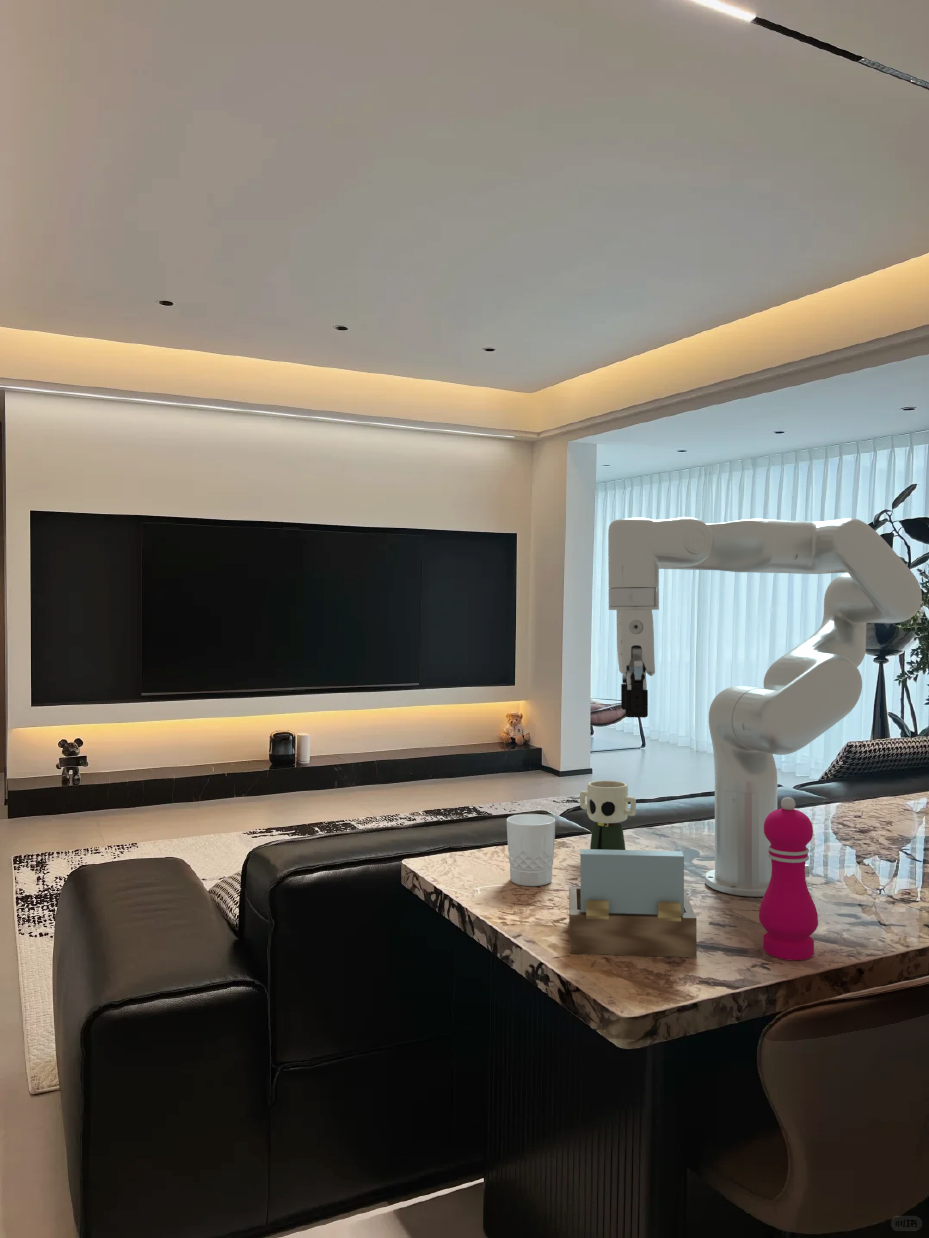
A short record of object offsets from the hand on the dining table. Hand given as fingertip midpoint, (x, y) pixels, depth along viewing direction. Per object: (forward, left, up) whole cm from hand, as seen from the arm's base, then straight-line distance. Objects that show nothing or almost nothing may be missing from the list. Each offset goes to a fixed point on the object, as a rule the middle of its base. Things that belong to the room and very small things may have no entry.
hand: (634, 713), depth 141 cm
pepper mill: (-18, +20, -28) cm, 39 cm away
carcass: (+2, +17, -28) cm, 33 cm away
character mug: (+3, -23, -28) cm, 37 cm away
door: (+2, +22, -23) cm, 32 cm away
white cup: (+16, -8, -28) cm, 34 cm away
